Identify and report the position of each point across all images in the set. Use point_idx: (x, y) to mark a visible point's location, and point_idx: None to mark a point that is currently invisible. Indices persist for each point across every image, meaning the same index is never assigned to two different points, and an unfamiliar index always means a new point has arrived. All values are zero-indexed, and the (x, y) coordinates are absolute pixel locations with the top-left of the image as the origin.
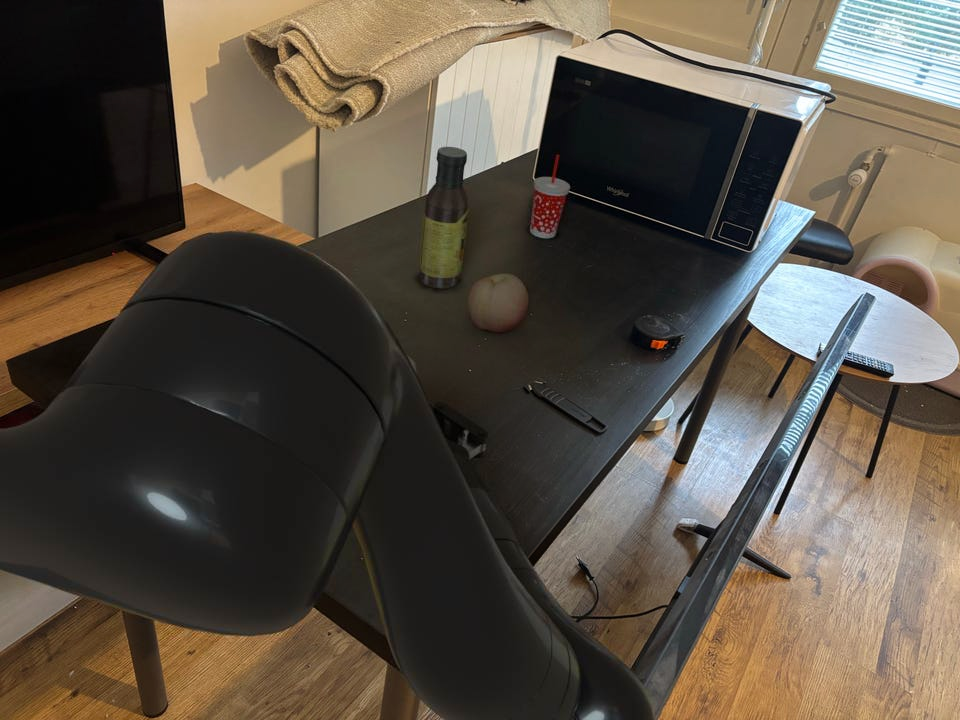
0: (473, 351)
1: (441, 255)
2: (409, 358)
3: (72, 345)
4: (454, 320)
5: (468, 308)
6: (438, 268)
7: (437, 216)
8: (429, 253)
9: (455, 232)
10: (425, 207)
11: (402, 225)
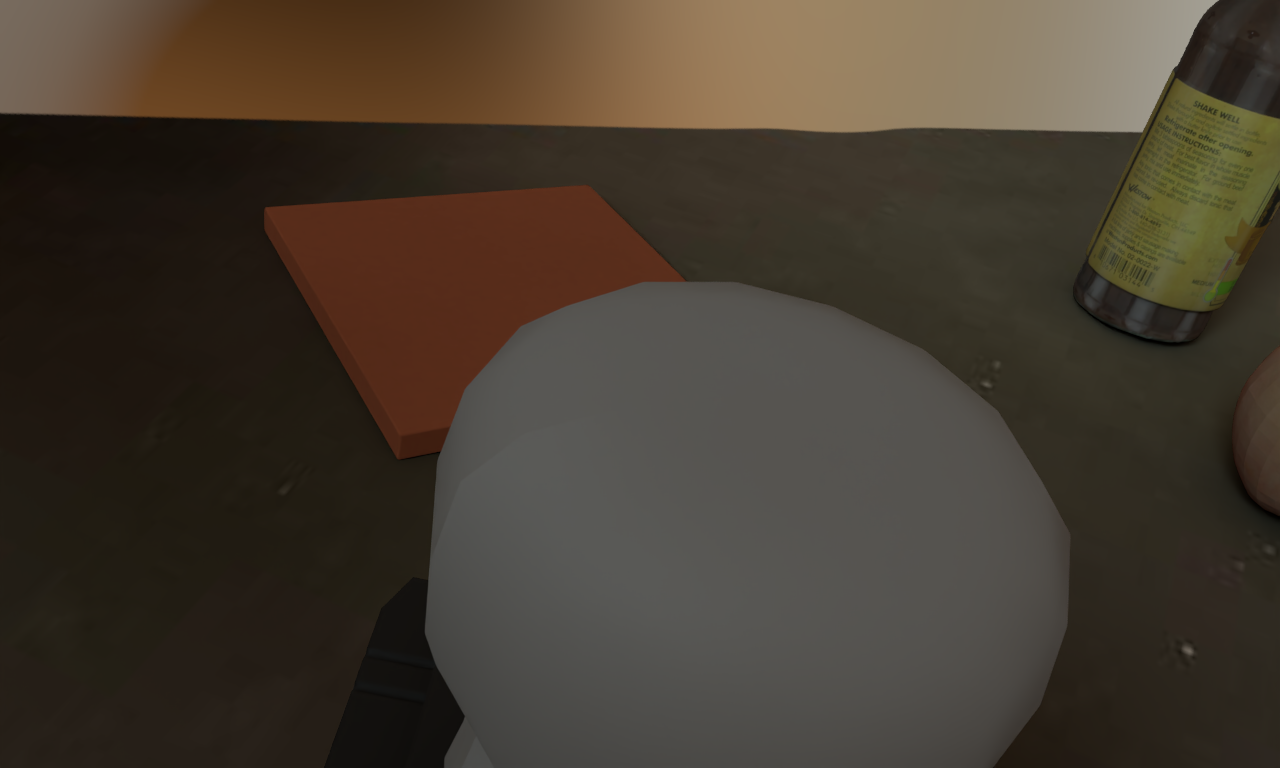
0: (1214, 578)
1: (1182, 222)
2: (1020, 455)
3: (17, 118)
4: (1159, 444)
5: (1241, 415)
6: (1154, 264)
7: (1224, 80)
8: (1141, 207)
9: (1267, 154)
10: (1185, 51)
11: (1059, 161)
